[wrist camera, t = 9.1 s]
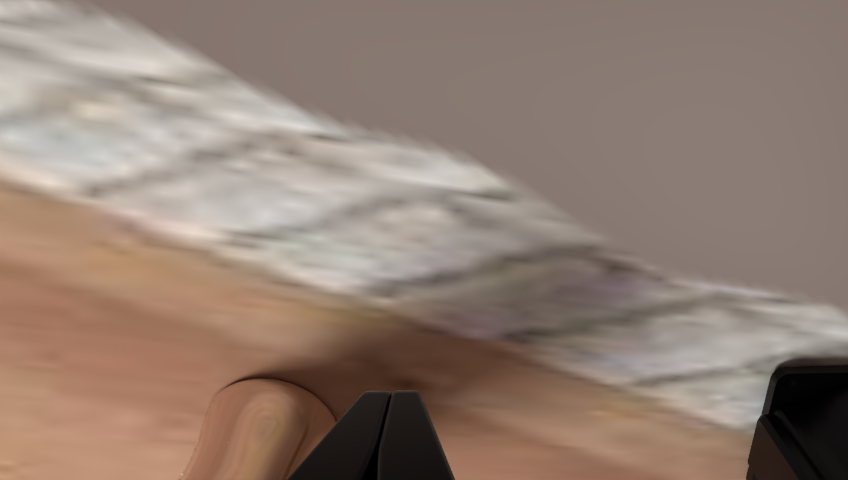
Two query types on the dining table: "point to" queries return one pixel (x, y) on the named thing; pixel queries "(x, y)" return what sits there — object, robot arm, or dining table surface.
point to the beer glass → (257, 432)
